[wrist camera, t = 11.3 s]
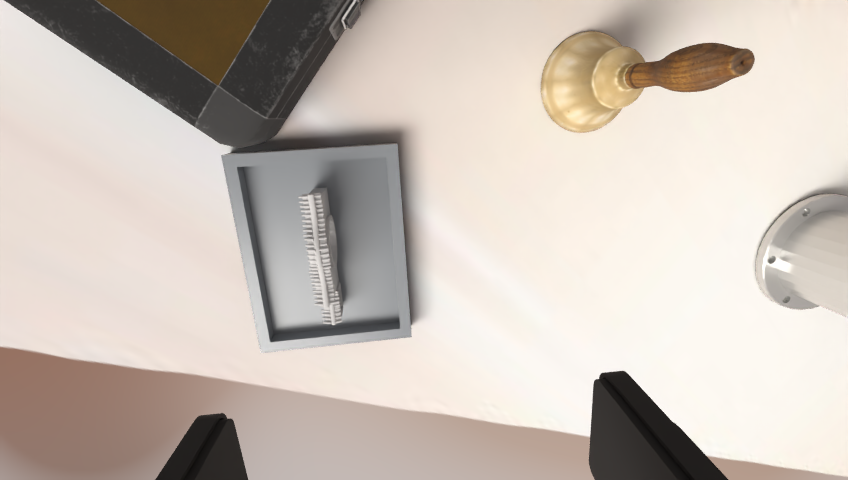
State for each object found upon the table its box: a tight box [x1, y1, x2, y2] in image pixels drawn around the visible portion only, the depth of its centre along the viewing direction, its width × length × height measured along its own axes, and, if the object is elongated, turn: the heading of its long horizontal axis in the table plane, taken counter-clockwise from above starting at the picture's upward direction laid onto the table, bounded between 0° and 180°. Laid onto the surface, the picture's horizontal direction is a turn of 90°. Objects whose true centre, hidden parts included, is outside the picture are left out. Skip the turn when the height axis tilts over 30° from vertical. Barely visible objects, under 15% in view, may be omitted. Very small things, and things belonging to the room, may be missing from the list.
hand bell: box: [541, 31, 755, 133], centre depth 28 cm, size 8×8×16 cm
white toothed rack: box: [298, 187, 344, 325], centre depth 34 cm, size 12×2×6 cm, turn 3°
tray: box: [221, 143, 412, 353], centre depth 36 cm, size 14×18×2 cm
